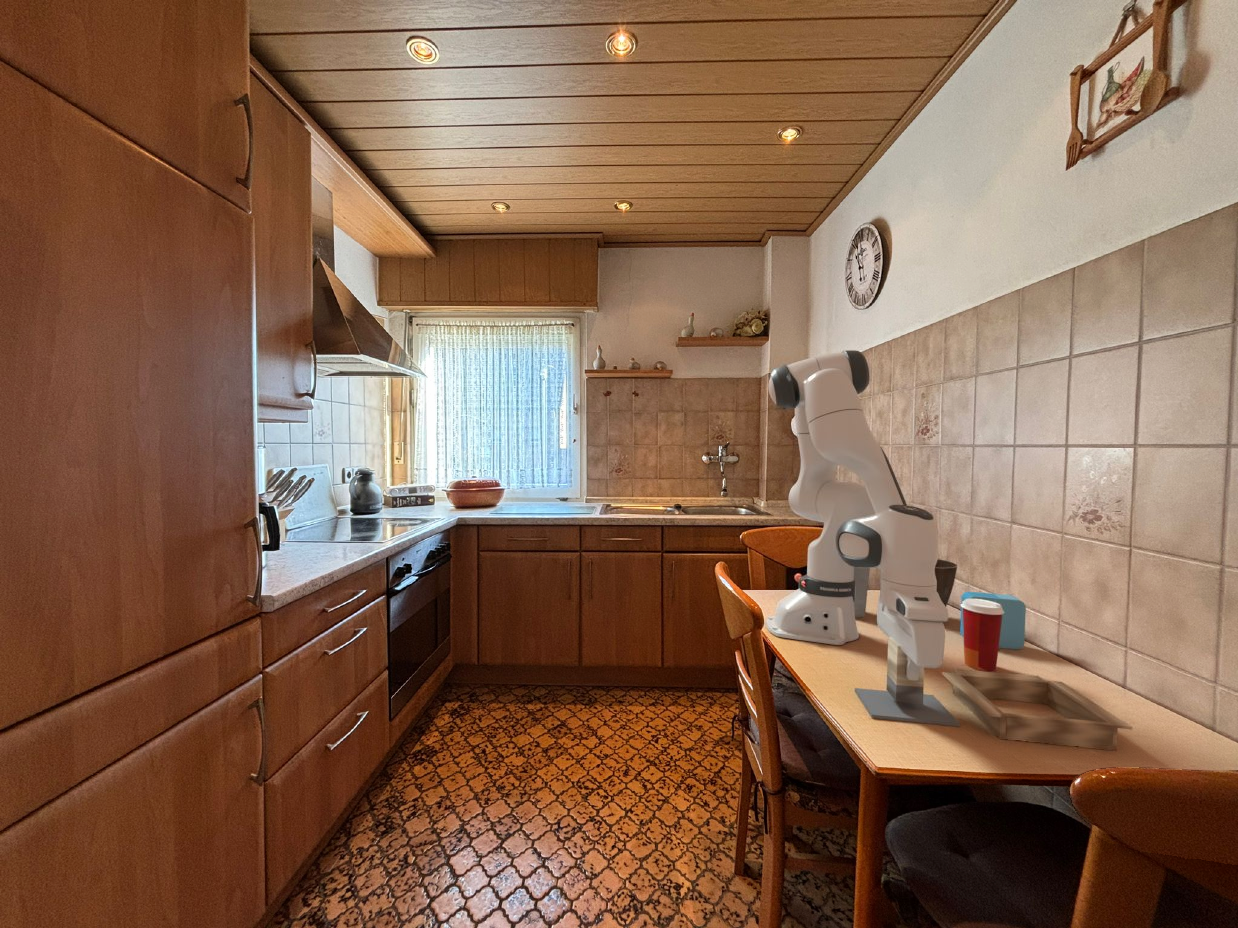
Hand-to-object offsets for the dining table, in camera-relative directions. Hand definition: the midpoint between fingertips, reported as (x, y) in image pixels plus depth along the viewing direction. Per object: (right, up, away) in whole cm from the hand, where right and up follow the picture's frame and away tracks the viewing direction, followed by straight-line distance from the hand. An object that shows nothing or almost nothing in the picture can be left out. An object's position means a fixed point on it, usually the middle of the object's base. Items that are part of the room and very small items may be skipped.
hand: (904, 671), depth 91 cm
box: (0, -5, 0) cm, 5 cm away
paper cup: (+27, -7, +19) cm, 34 cm away
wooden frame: (+20, -7, -3) cm, 21 cm away
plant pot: (+35, -6, +51) cm, 62 cm away
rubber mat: (0, -7, 0) cm, 7 cm away
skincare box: (+15, -6, +54) cm, 57 cm away
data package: (+40, -7, +32) cm, 51 cm away
